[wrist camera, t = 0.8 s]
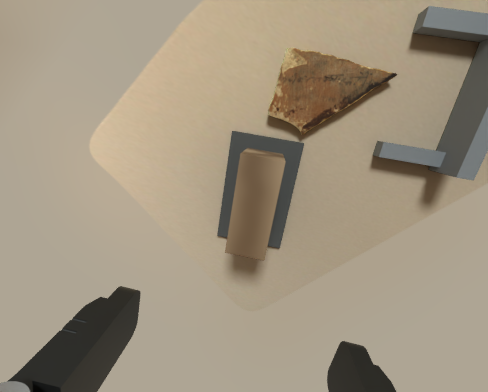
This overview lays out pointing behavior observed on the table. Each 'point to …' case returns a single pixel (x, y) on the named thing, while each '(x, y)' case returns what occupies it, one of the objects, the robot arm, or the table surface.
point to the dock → (467, 104)
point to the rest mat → (292, 158)
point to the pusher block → (254, 202)
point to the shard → (320, 87)
